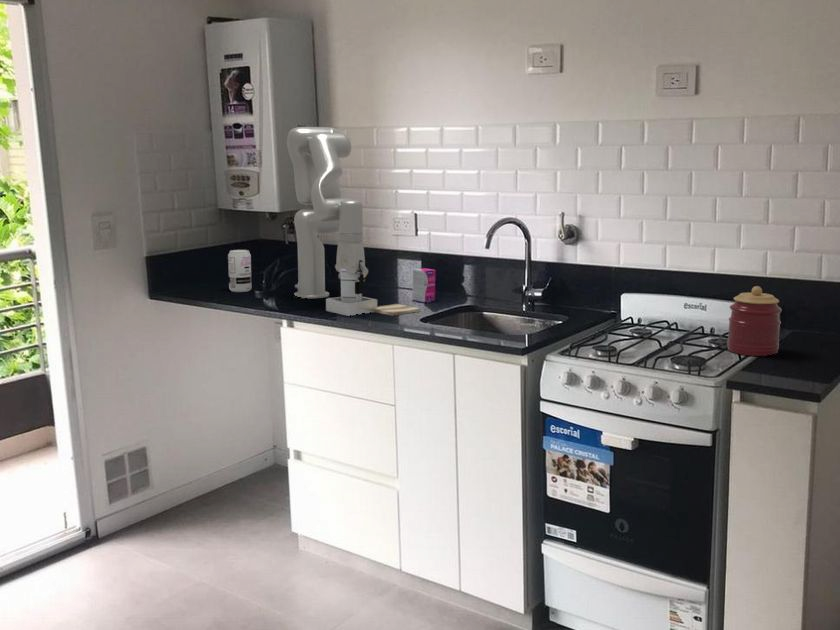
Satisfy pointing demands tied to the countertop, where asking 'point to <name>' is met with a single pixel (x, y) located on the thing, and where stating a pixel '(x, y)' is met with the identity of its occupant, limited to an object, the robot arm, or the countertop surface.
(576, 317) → the countertop surface
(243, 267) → the supplement can
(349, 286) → the syrup box
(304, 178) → the robot arm
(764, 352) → the canister
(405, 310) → the birch board
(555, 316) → the countertop surface
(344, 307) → the flat grey box
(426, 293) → the supplement box
